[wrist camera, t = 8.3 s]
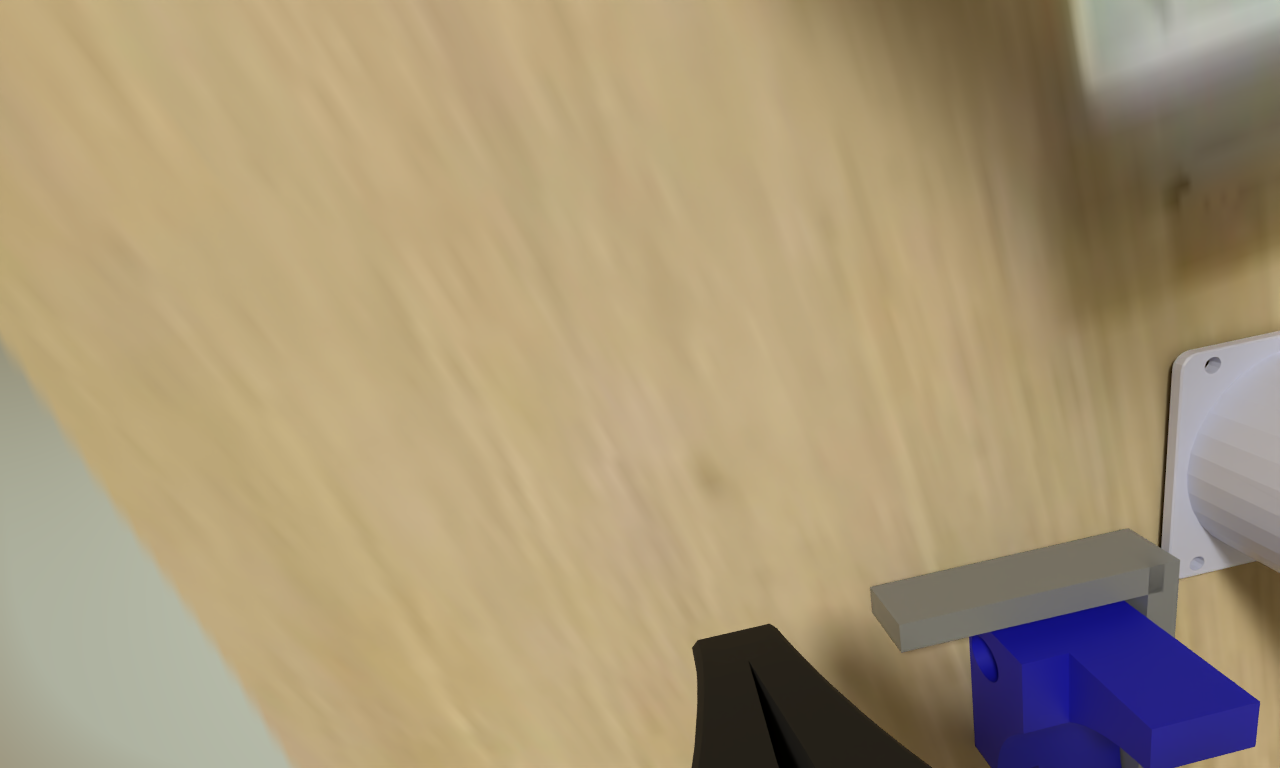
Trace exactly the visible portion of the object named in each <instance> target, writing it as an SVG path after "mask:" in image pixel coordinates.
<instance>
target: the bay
mask: <svg viewBox="0 0 1280 768" xmlns="http://www.w3.org/2000/svg"><path fill="white" fill-rule="evenodd" d="M1179 570H1180V560H1179V559H1178V558H1176V557H1175V556H1173V555H1171V554H1170V553H1168V552H1166V551H1165V550H1163V549H1161V548H1160V547H1158V546H1157V545H1155V544H1153V543H1152V542H1150V541H1148V540H1147V539H1145V538H1143V537H1142V536H1140V535H1139V534H1137V533H1135V532H1134V531H1132V530H1130V529H1129V528H1128V529H1123V530H1119V531H1115V532H1110V533H1106V534H1101V535H1097V536H1093V537H1088V538H1084V539H1080V540H1075V541H1071V542H1066V543H1062V544H1058V545H1053V546H1049V547H1044V548H1040V549H1036V550H1031V551H1027V552H1023V553H1018V554H1014V555H1009V556H1005V557H1001V558H996V559H992V560H987V561H983V562H979V563H974V564H970V565H966V566H961V567H957V568H952V569H948V570H944V571H939V572H935V573H930V574H926V575H922V576H917V577H913V578H909V579H904V580H900V581H895V582H891V583H887V584H882V585H878V586H873V587H870V590H871V602H872V613H873V614H874V616H875V617H876V618H877V620H878V621H879V623H880V624H881V625H882V627H883V628H884V629H885V631H886V632H887V634H888V635H889V636H890V638H891V639H892V640H893V642H894V643H895V645H896V646H897V647H898V649H899V650H900V651H901V653H902V652H906V651H910V650H914V649H919V648H923V647H927V646H932V645H936V644H940V643H944V642H949V641H953V640H957V639H961V638H966V637H970V636H974V635H978V634H983V633H987V632H991V631H996V630H1000V629H1004V628H1008V627H1013V626H1017V625H1021V624H1025V623H1030V622H1034V621H1038V620H1042V619H1047V618H1051V617H1055V616H1060V615H1064V614H1068V613H1072V612H1077V611H1081V610H1085V609H1089V608H1094V607H1098V606H1102V605H1106V604H1111V603H1115V602H1119V601H1125V602H1127V603H1128V604H1129V605H1131V606H1132V607H1133V608H1135V609H1136V610H1138V611H1139V612H1140V613H1142V614H1143V615H1144V616H1146V617H1147V618H1148V619H1150V620H1151V621H1152V622H1154V623H1155V624H1156V625H1158V626H1159V627H1160V628H1162V629H1163V630H1164V631H1166V632H1167V633H1168V634H1170V635H1171V636H1172V637H1174V638H1175V626H1176V612H1177V598H1178V584H1179ZM1120 760H1121V767H1122V768H1143V767H1142V766H1141V765H1140V764H1139V763H1138V762H1137V761H1136V760H1135V759H1133V758H1132V757H1131V756H1130V755H1129V754H1127V753H1126V752H1125V751H1124V750H1123V749H1122V748H1120Z"/></svg>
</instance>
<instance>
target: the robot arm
mask: <svg viewBox="0 0 1280 768" xmlns="http://www.w3.org/2000/svg"><path fill="white" fill-rule="evenodd" d="M1208 360H1209V363H1208V365H1207V366H1206V367H1205V365H1206V362H1207V361H1208ZM1161 549H1163V550H1165V551H1166V552H1168V553H1170V554H1171V555H1173V556H1175V557H1176V558H1178V559H1179V560H1180V570H1179V579H1182V578H1186V577H1190V576H1194V575H1199V574H1203V573H1207V572H1212V571H1216V570H1220V569H1224V568H1229V567H1233V566H1237V565H1242V564H1246V563H1250V562H1254V561H1258V562H1260V563H1262V564H1264V565H1265V566H1267V567H1269V568H1271V569H1273V570H1275V571H1276V572H1278V573H1280V331H1276V332H1271V333H1267V334H1262V335H1257V336H1253V337H1248V338H1243V339H1239V340H1234V341H1229V342H1225V343H1220V344H1215V345H1210V346H1206V347H1201V348H1196V349H1192V350H1188V351H1185V352H1183V353H1182V354H1180V355H1179V356H1178V357H1177V358H1176V360H1175V362H1174V364H1173V368H1172V382H1171V399H1170V415H1169V431H1168V447H1167V464H1166V480H1165V496H1164V512H1163V529H1162V545H1161ZM692 649H693V655H694V660H695V666H696V671H697V719H696V735H695V747H694V755H693V762H692V768H932V767H931V766H929V765H928V764H926V763H925V762H924V761H922V760H921V759H920V758H918V757H917V756H916V755H914V754H913V753H912V752H910V751H909V750H908V749H906V748H905V747H904V746H903V745H901V744H900V743H899V742H898V741H896V740H895V739H894V738H893V737H891V736H890V735H889V734H888V733H886V732H885V731H884V730H883V729H881V728H880V727H879V726H878V725H877V724H875V723H874V722H873V721H872V720H871V719H869V718H868V717H867V716H866V715H865V714H864V713H862V712H861V711H860V710H859V709H858V708H857V707H856V706H855V705H853V704H852V703H851V702H850V701H849V700H848V699H847V698H846V697H844V696H843V695H842V694H841V693H840V692H839V691H838V690H837V689H836V688H834V687H833V686H832V685H831V684H830V683H829V682H828V681H827V680H826V679H825V678H824V677H823V676H822V675H821V674H820V673H819V672H818V671H817V670H816V669H815V668H814V667H813V666H812V665H811V664H810V663H809V662H808V661H807V660H806V659H805V658H804V657H803V656H802V655H801V654H800V653H799V652H798V651H797V650H796V649H795V648H794V647H793V646H792V645H791V644H790V643H789V642H788V640H787V639H786V638H785V637H784V636H783V635H782V634H781V633H780V631H779V630H778V629H777V628H775V627H774V626H772V625H771V624H766V625H762V626H758V627H753V628H749V629H745V630H740V631H736V632H732V633H727V634H723V635H718V636H714V637H710V638H705V639H701V640H698V641H697V642H696V643H695V645H694V646H693V647H692Z"/></svg>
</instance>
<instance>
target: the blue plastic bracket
mask: <svg viewBox="0 0 1280 768" xmlns="http://www.w3.org/2000/svg"><path fill="white" fill-rule="evenodd" d="M969 643H970V661H971V679H972V697H973V716H974V734H975V746H976V748H977V749H978V750H979V752H980V753H981V754H982V756H983V757H984V758H985V760H986V761H987V763H988V764H989V765H990V767H991V768H1122V767H1121V760H1120V748H1122V749H1123V750H1124V751H1125V752H1126V753H1127V754H1129V755H1130V756H1131V757H1132V758H1133V759H1135V760H1136V761H1137V762H1138V763H1139V764H1140V765H1141V766H1142V767H1143V768H1175V767H1179V766H1182V765H1186V764H1190V763H1194V762H1198V761H1202V760H1205V759H1209V758H1213V757H1217V756H1221V755H1225V754H1228V753H1232V752H1236V751H1240V750H1244V749H1248V748H1251V747H1255V744H1256V735H1257V726H1258V716H1259V707H1260V701H1258V700H1257V699H1256V698H1254V697H1253V696H1252V695H1250V694H1249V693H1248V692H1246V691H1245V690H1243V689H1242V688H1241V687H1239V686H1238V685H1237V684H1235V683H1234V682H1233V681H1231V680H1230V679H1229V678H1227V677H1226V676H1225V675H1223V674H1222V673H1221V672H1219V671H1218V670H1217V669H1215V668H1214V667H1213V666H1211V665H1210V664H1209V663H1207V662H1206V661H1205V660H1203V659H1202V658H1201V657H1199V656H1198V655H1197V654H1195V653H1194V652H1193V651H1191V650H1190V649H1188V648H1187V647H1186V646H1184V645H1183V644H1182V643H1180V642H1179V641H1178V640H1176V639H1175V638H1174V637H1172V636H1171V635H1170V634H1168V633H1167V632H1166V631H1164V630H1163V629H1162V628H1160V627H1159V626H1158V625H1156V624H1155V623H1154V622H1152V621H1151V620H1150V619H1148V618H1147V617H1146V616H1144V615H1143V614H1142V613H1140V612H1139V611H1138V610H1136V609H1135V608H1133V607H1132V606H1131V605H1129V604H1128V603H1127V602H1125V601H1119V602H1115V603H1111V604H1106V605H1102V606H1098V607H1094V608H1089V609H1085V610H1081V611H1077V612H1072V613H1068V614H1064V615H1060V616H1055V617H1051V618H1047V619H1042V620H1038V621H1034V622H1030V623H1025V624H1021V625H1017V626H1013V627H1008V628H1004V629H1000V630H996V631H991V632H987V633H983V634H978V635H974V636H970V637H969Z"/></svg>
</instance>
